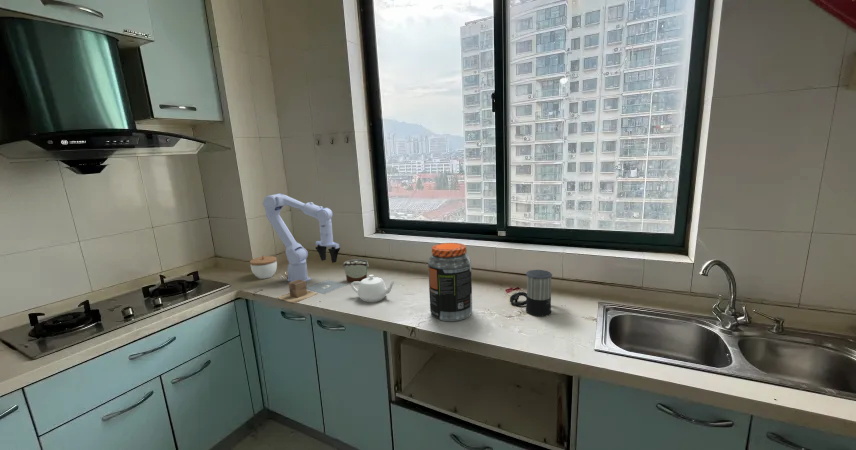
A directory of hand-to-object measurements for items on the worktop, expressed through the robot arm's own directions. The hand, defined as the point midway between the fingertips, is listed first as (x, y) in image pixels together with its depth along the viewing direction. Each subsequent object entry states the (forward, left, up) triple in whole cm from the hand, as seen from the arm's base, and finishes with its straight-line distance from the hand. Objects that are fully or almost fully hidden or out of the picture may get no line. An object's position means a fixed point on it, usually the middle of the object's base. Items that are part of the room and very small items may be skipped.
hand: (328, 261), depth 175 cm
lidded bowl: (-36, -12, -10) cm, 39 cm away
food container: (+12, +7, -10) cm, 17 cm away
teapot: (+34, -6, -10) cm, 36 cm away
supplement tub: (+70, -3, -10) cm, 71 cm away
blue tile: (+5, -7, -10) cm, 13 cm away
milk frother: (+93, +16, -10) cm, 95 cm away
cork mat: (+3, -21, -10) cm, 23 cm away
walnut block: (+3, -21, -10) cm, 23 cm away
